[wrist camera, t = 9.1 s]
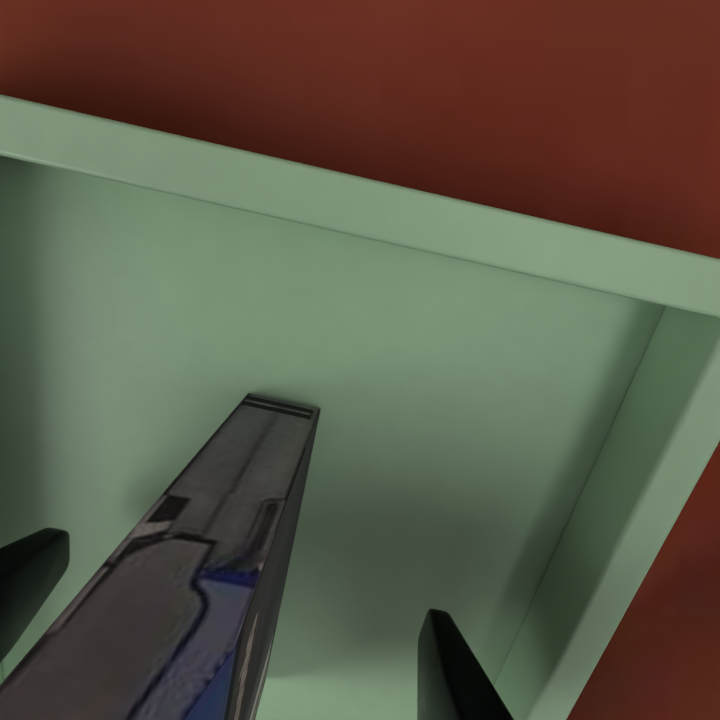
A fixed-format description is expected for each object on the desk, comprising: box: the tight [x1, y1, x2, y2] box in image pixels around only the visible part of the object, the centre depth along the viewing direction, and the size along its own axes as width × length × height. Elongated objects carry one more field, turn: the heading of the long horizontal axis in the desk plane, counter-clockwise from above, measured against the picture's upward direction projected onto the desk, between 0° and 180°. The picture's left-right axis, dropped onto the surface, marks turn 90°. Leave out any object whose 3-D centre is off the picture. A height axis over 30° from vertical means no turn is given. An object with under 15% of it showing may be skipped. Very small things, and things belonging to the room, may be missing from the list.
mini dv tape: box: [0, 393, 321, 720], centre depth 7 cm, size 8×2×6 cm, turn 168°
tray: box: [0, 94, 720, 720], centre depth 9 cm, size 15×17×2 cm
